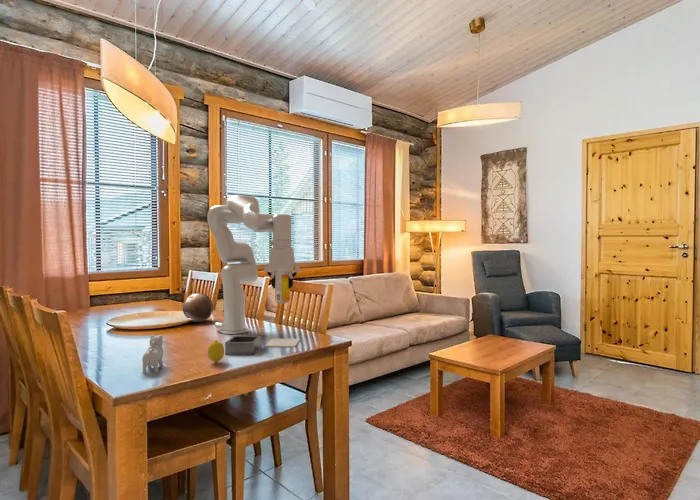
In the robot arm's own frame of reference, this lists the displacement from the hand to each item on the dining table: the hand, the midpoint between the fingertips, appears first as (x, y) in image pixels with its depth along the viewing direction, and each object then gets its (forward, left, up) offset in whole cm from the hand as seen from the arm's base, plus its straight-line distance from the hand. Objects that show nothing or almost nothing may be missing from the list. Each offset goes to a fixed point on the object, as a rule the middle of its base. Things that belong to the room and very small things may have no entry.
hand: (282, 287), depth 184 cm
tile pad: (0, 0, -23) cm, 23 cm away
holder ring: (-13, -12, -23) cm, 29 cm away
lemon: (-18, -29, -23) cm, 41 cm away
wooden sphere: (-53, +45, -23) cm, 73 cm away
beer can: (0, 0, -6) cm, 6 cm away
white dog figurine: (-37, -36, -23) cm, 57 cm away
